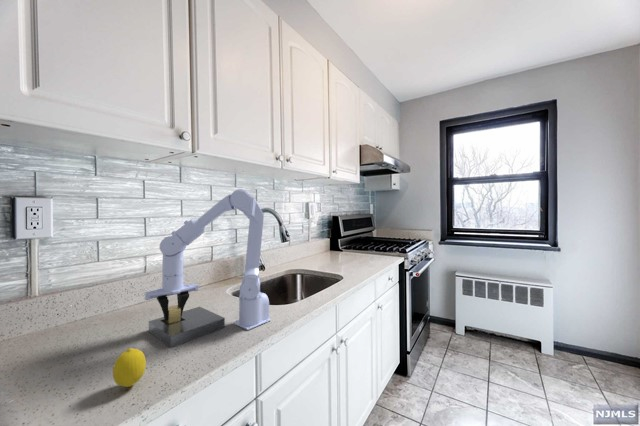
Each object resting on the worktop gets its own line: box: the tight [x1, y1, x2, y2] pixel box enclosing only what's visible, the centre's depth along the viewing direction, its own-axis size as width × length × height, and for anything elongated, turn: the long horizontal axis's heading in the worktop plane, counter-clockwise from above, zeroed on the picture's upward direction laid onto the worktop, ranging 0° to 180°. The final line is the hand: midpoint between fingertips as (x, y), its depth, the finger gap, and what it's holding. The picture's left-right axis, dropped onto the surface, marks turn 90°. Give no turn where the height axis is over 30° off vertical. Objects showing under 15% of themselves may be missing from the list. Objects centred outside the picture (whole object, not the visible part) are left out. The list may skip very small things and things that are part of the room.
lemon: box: [112, 347, 147, 388], centre depth 54 cm, size 6×6×8 cm
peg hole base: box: [148, 306, 226, 348], centre depth 81 cm, size 16×16×3 cm
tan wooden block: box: [166, 304, 181, 325], centre depth 80 cm, size 3×4×7 cm
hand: (172, 317), depth 80 cm, fingers closed on tan wooden block, 3 cm apart
